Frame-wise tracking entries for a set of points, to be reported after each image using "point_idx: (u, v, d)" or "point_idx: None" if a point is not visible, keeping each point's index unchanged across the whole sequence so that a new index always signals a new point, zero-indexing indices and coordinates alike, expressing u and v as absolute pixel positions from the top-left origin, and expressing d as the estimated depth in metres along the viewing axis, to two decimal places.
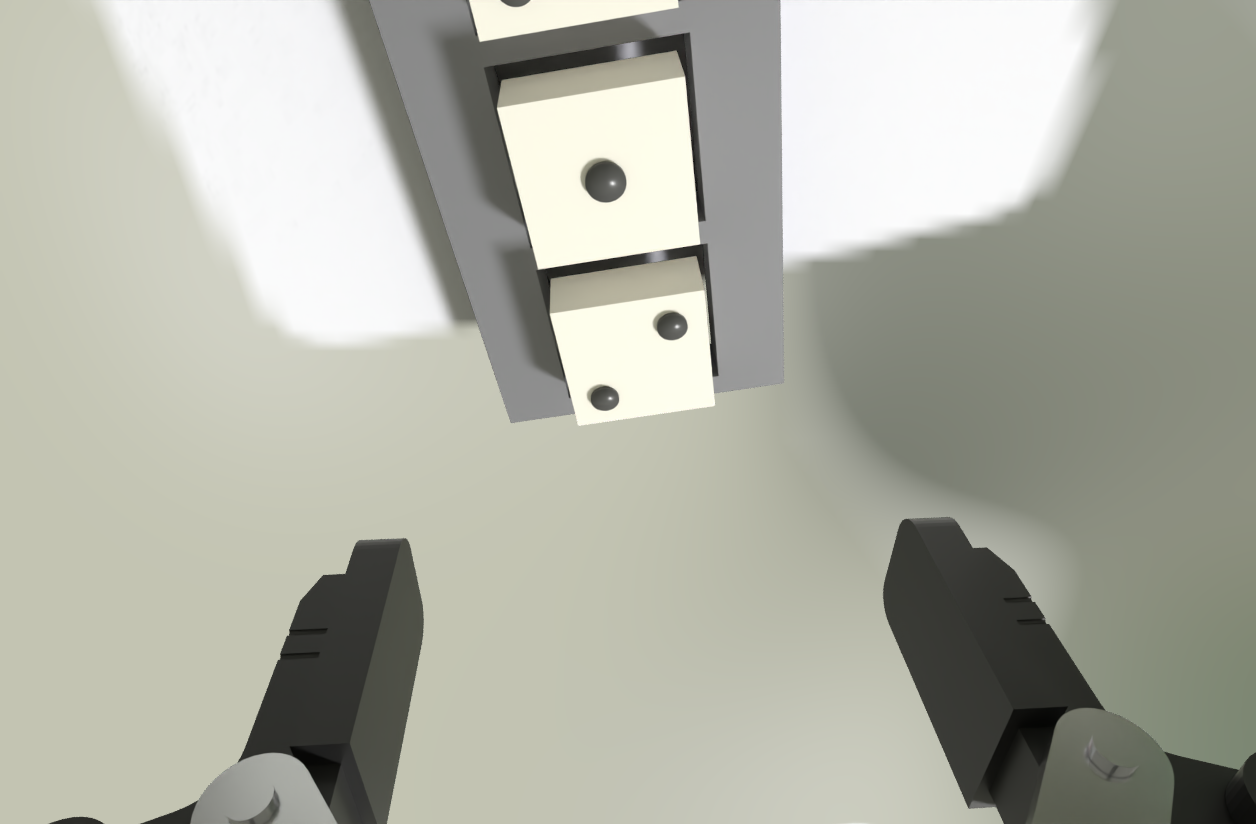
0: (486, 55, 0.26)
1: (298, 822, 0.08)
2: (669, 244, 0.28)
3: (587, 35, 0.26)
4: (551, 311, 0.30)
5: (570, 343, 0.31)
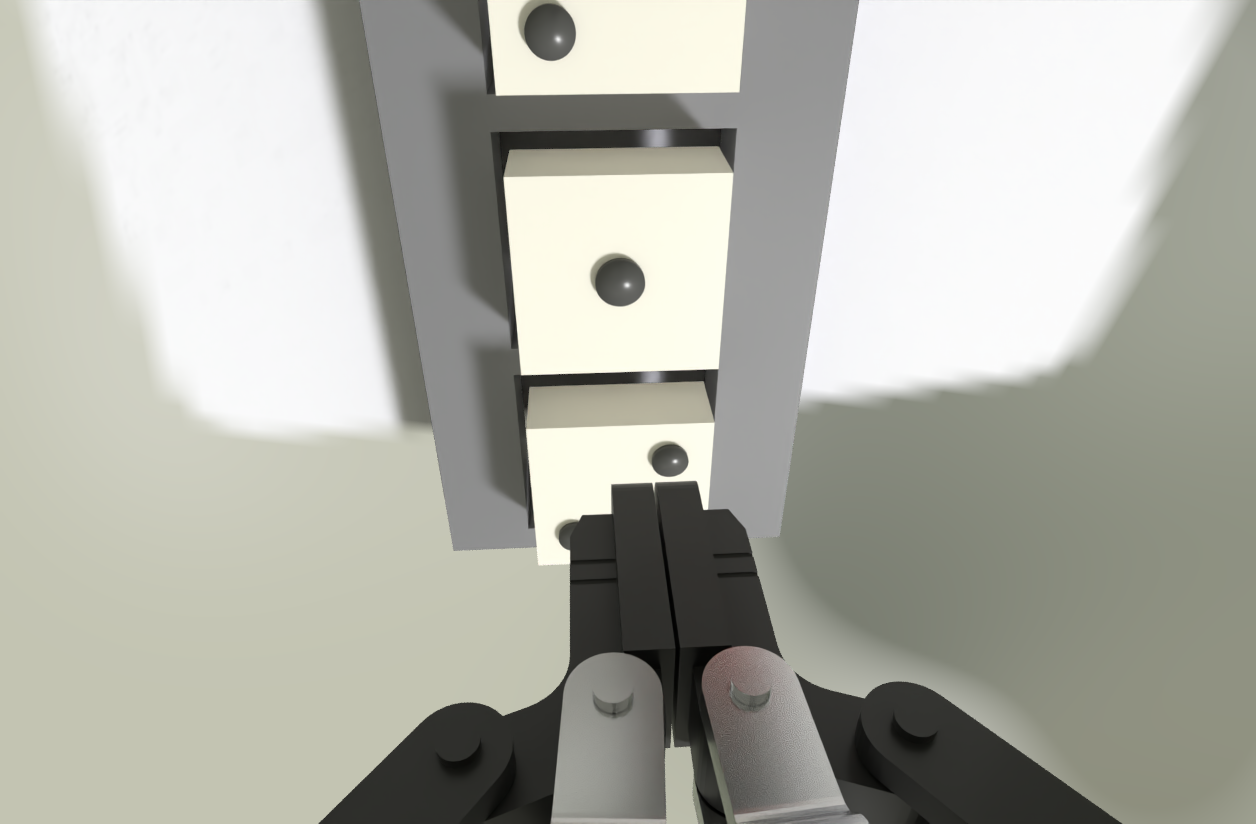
0: (496, 118, 0.22)
1: (662, 708, 0.09)
2: (682, 364, 0.24)
3: (619, 113, 0.22)
4: (528, 426, 0.25)
5: (545, 467, 0.26)
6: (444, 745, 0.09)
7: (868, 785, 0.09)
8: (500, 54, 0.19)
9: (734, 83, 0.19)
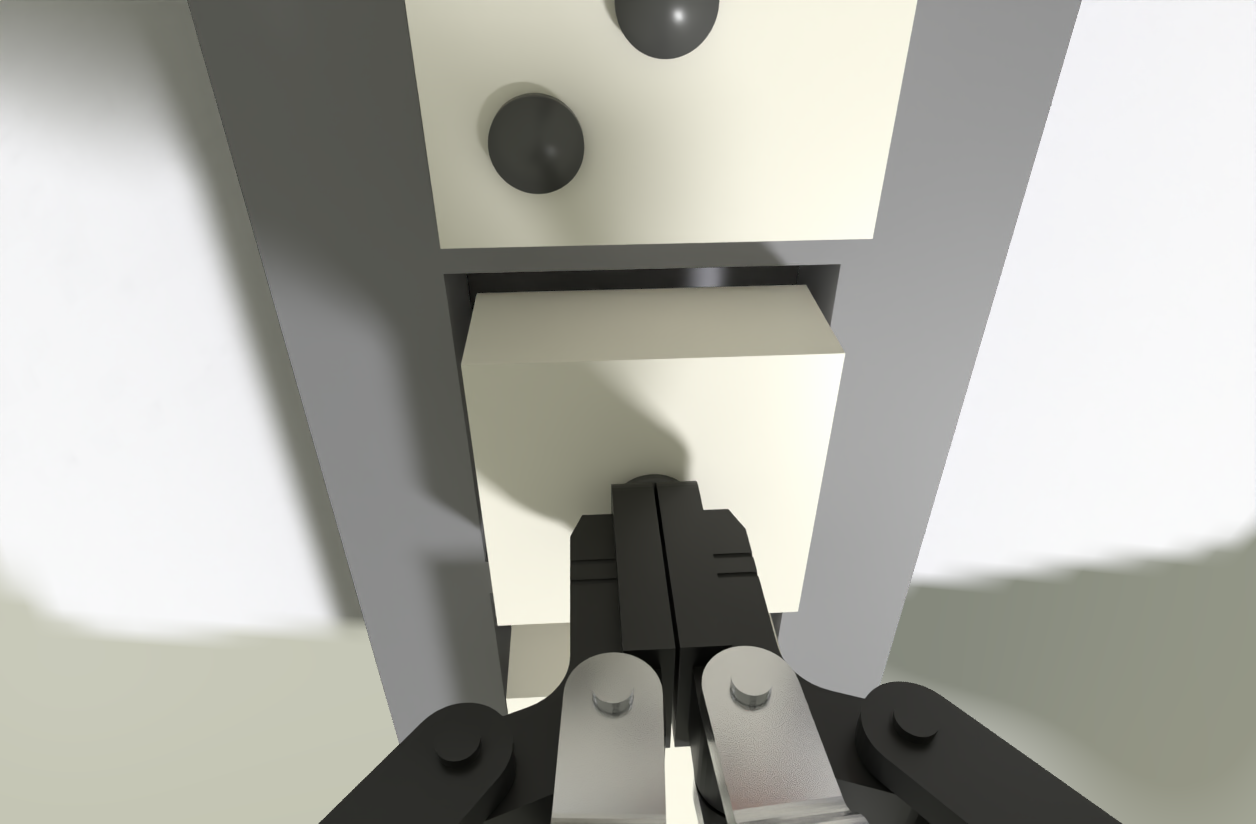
0: (452, 254, 0.13)
1: (662, 708, 0.09)
2: None
3: (652, 245, 0.13)
4: (509, 693, 0.16)
5: None
6: (444, 745, 0.09)
7: (868, 785, 0.09)
8: (445, 181, 0.10)
9: (865, 225, 0.11)
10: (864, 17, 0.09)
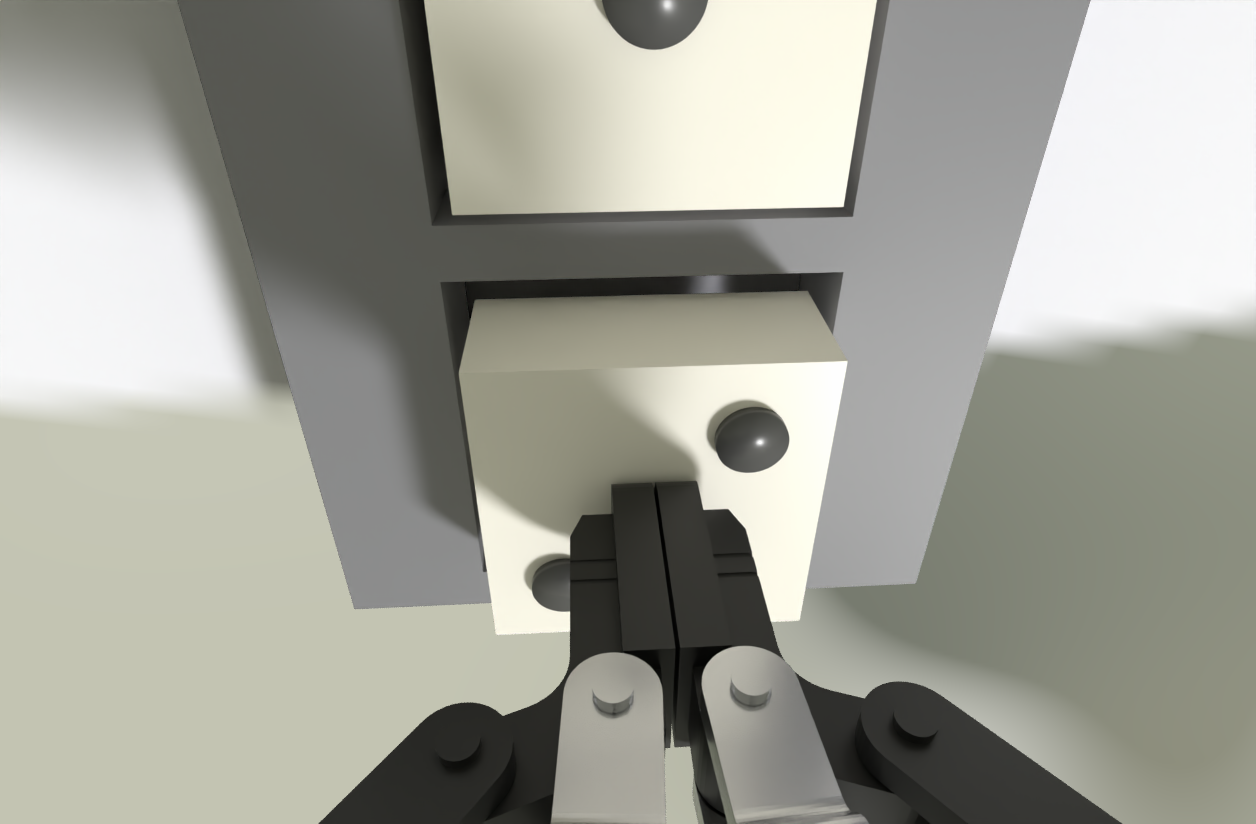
0: None
1: (662, 708, 0.09)
2: (773, 196, 0.12)
3: None
4: (464, 368, 0.12)
5: (502, 453, 0.13)
6: (444, 745, 0.09)
7: (868, 785, 0.09)
8: None
9: None
10: None
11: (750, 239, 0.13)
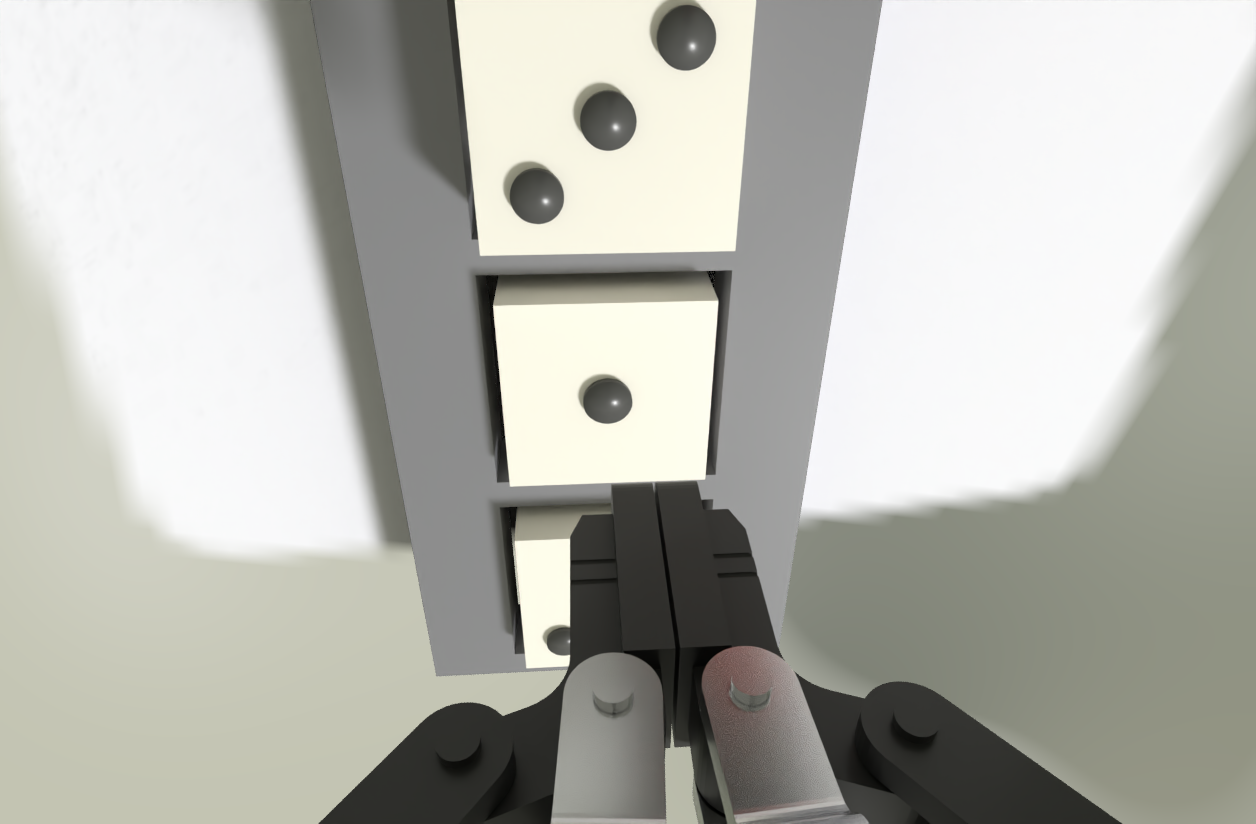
0: (481, 262, 0.21)
1: (662, 708, 0.09)
2: (669, 475, 0.24)
3: (609, 257, 0.21)
4: (516, 538, 0.25)
5: (533, 576, 0.26)
6: (444, 745, 0.09)
7: (868, 785, 0.09)
8: (484, 216, 0.18)
9: (730, 242, 0.18)
10: (717, 128, 0.17)
11: None
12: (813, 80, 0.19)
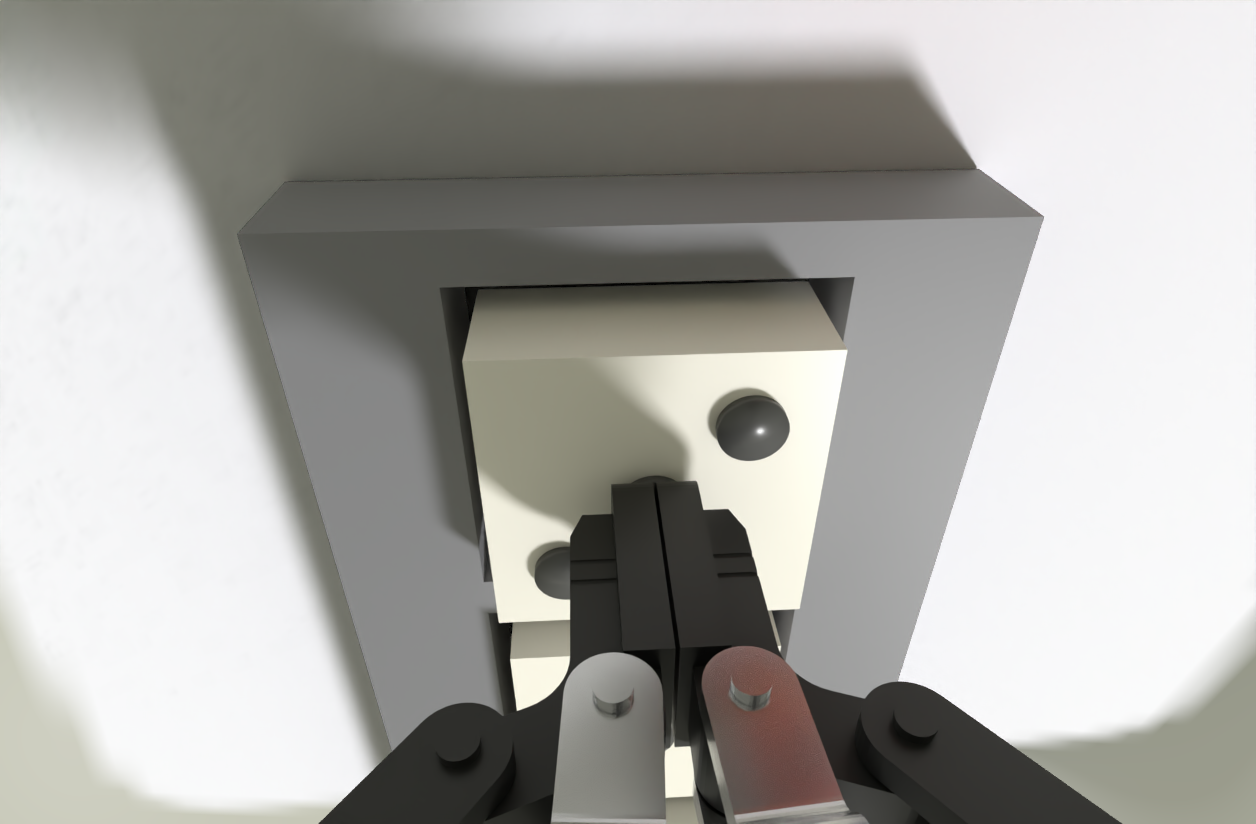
0: (495, 601, 0.17)
1: (662, 708, 0.09)
2: None
3: None
4: None
5: None
6: (444, 745, 0.09)
7: (868, 785, 0.09)
8: (504, 589, 0.15)
9: (794, 602, 0.16)
10: (785, 505, 0.14)
11: None
12: (909, 423, 0.15)
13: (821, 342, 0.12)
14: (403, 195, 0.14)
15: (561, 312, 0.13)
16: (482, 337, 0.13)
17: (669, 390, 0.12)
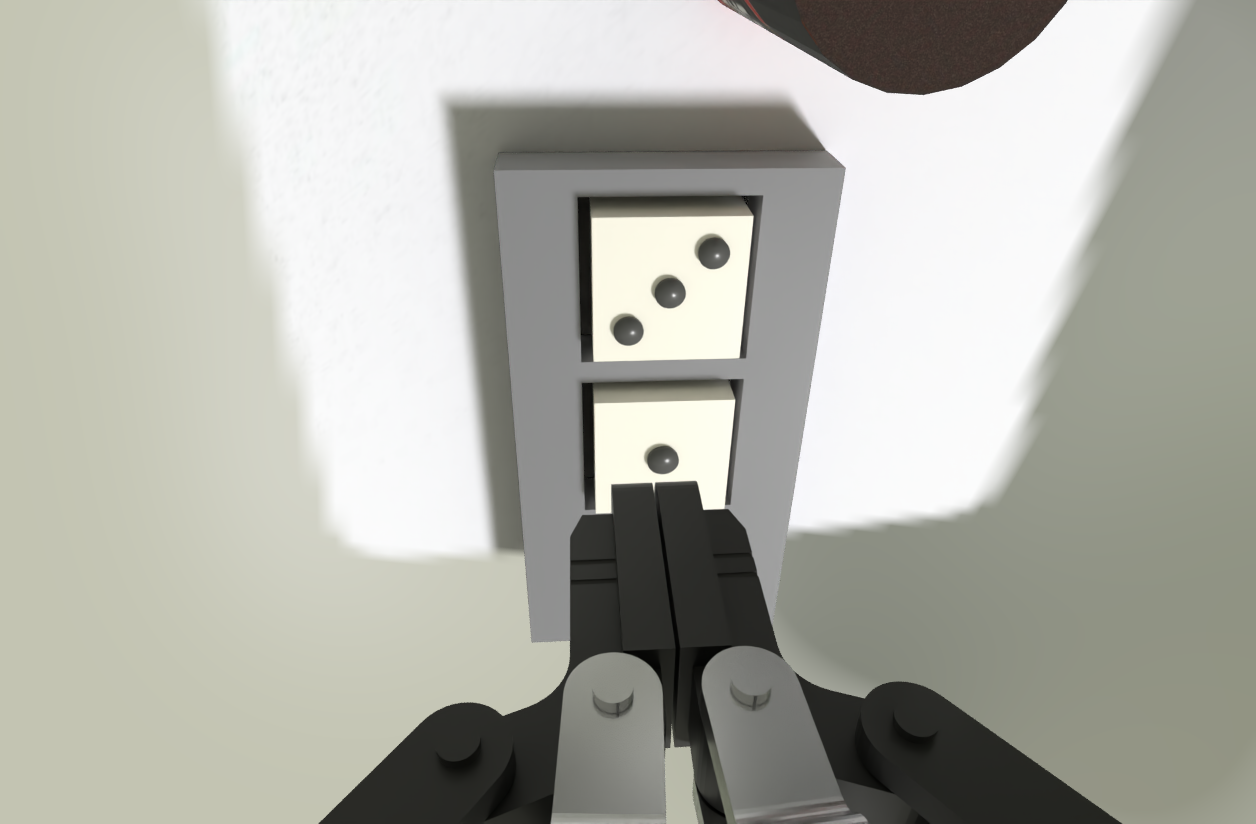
0: (586, 375, 0.33)
1: (662, 709, 0.09)
2: None
3: (666, 371, 0.33)
4: None
5: None
6: (444, 746, 0.09)
7: (868, 785, 0.09)
8: (598, 341, 0.31)
9: (736, 354, 0.32)
10: (730, 295, 0.31)
11: None
12: (794, 272, 0.31)
13: (742, 213, 0.29)
14: (557, 158, 0.30)
15: (629, 204, 0.30)
16: (597, 211, 0.29)
17: (678, 233, 0.29)
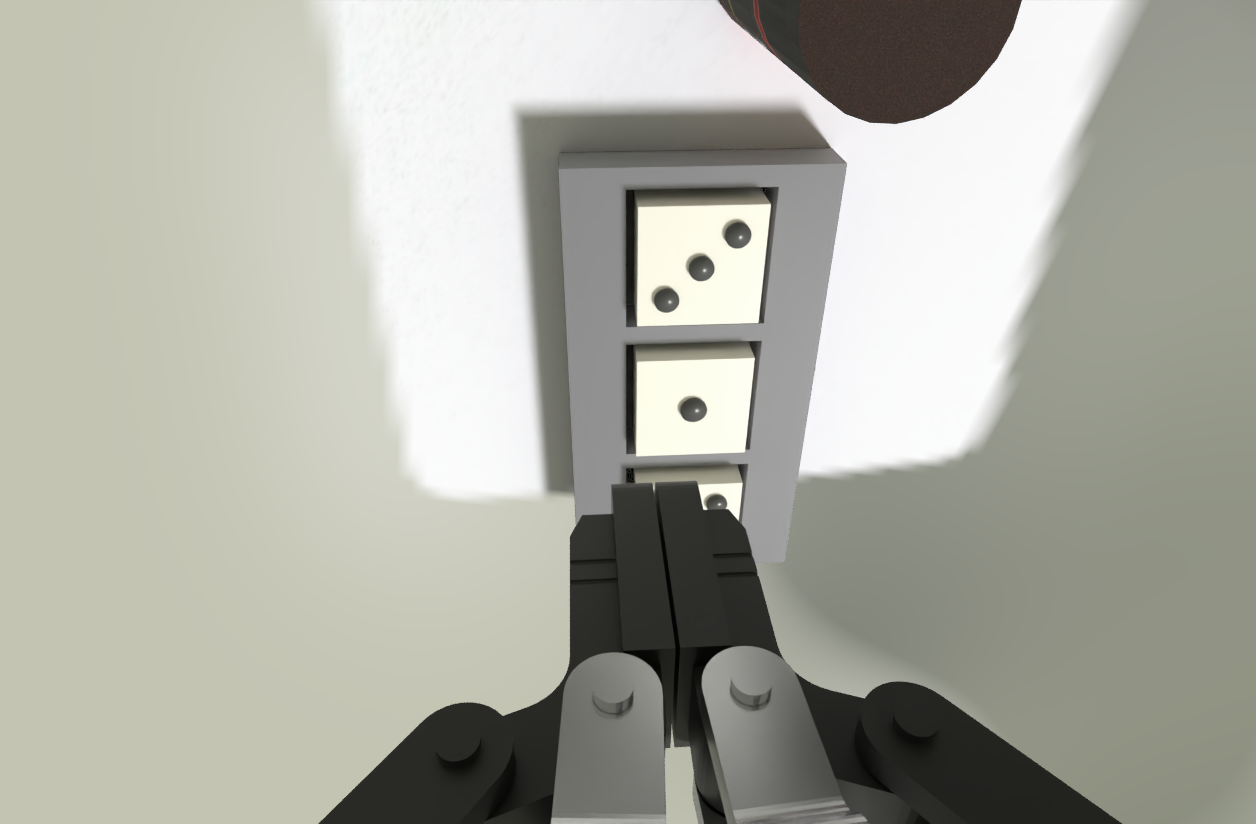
0: (629, 338, 0.40)
1: (662, 708, 0.09)
2: (725, 450, 0.43)
3: (697, 335, 0.40)
4: None
5: None
6: (444, 745, 0.09)
7: (868, 785, 0.09)
8: (641, 309, 0.38)
9: (756, 319, 0.38)
10: (751, 270, 0.37)
11: (719, 455, 0.44)
12: (805, 250, 0.37)
13: (762, 202, 0.35)
14: (608, 157, 0.36)
15: (668, 195, 0.36)
16: (642, 201, 0.36)
17: (708, 219, 0.35)
